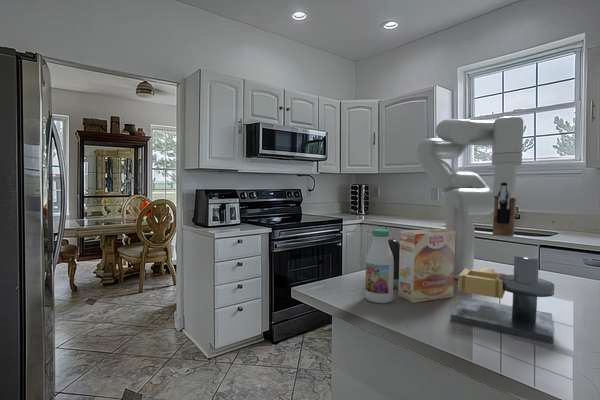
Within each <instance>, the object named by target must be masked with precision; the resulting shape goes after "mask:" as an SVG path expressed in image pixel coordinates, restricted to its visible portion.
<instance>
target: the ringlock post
mask: <svg viewBox="0 0 600 400" xmlns="http://www.w3.org/2000/svg"><path fill="white" fill-rule="evenodd" d="M539 262H540V259H539V257H535V256H528V255H514V257H513V274H506V276H505V275H503V278H502V276H500V277H499V279H502V281H503V290H505V292H508V293H511V294H512V304H511V305H507V304H503V303H497V302H496V303H495V302H491V301H487V300H486V301H485V300H481V299H475V298H469V297H466V296H465V297H463V298H462V299H461V300H460V302H459V303H458V305H457V306H456V307H455V308H454V309H453V311H452V312H451V314H450V322H456V323H458V324H463V325H468V326H472V327H477V328H481V329H486V330H491V331H493V332H494V331H495V332H499V333H502V334H503V333H504V334H508V335H512V336H518V337H521V338H525V339H529V340H535V341H538V342H542V343H543V342H544V343H548V344H552V345H553V344H554V325H553V323H554V322H553V313H551V312H545V311H540V310H538V306H537V305H538V298H549V297H553V296H555V284H554V283H553V282H552V281H549V280H548V279H547V280H546V279H543V278H540V277H539V266H540V263H539ZM504 277H505V278H504Z"/></svg>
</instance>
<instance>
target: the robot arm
mask: <svg viewBox="0 0 600 400" xmlns="http://www.w3.org/2000/svg"><path fill="white" fill-rule="evenodd" d="M435 135H436V137H435V138H433V137H432V138H426V139H423V140H421V141H420V142H418V145H417V147H416V157H417V161H418V163H419V166H420V167H421V168H422V169H423V171H424V172H425V173H426V174H427V175H428V176H429V177H430V179H431V180H432V183H433V184H434V185H435V187H436V188H437V189H438V191H439V192H440V194H441V195H443V207H444V213H445V230H449V231H454V232H456V236H455V261H454V280H458V278H459V274H460V273H461V272H462V271H463V270H464V269H472V270H474V261H475V260H474V259H475V236H476V235H475V233H476V231H475V230H476V229H475V228H476V227H475V225H474V222H473V221H472V219H471V217H470V216H486V215H490V214H492V213H494V201H495V199H496V198H495V197H499V199H498V209H497V223H504V224H509V223H510V210H509V204H510V199H511V198H515V193H516V184H517V170H518V169H517V167H518V166H522V164H523V162H522V161H523V144H524V143H523V142H524V140H523V139H524V119H523V117H521V116H517V115H516V116H515V115H510V116H503V117H502V116H501V117H499V118H496V119H494V120H472V119H468V118H467V119H466V118H447V119H443V120H441V121H440V122H438V124H437V125H436V128H435ZM469 146H488V147H489V146H491V147H492V150H491V152H492V153H491V166H494V167H495V168H494V172H493V173H494V175H493V185H492V186H493V188H492V189H491V188H490V187H489V185H488V184H487V183H486V182H485V181H484V179H483V178H482V177H481V176H480V175H479V174H477V173H475V172H472V171H456V170H454V169H453V168H452V166H451V165H450V164H448V162H446V161H444V160H454V159H456V160H457V159H458V158H460V157H461V156H462V155H463V153H464V152H465V151H466V149H467V148H468V147H469ZM507 198H508V199H507Z"/></svg>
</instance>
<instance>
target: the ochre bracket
mask: <svg viewBox="0 0 600 400" xmlns="http://www.w3.org/2000/svg"><path fill="white" fill-rule="evenodd" d="M503 275H505V276H506V275H507V274H506V273H499V272H495V269H493V268H486V267H481V268H480V270H479V269H473V270H472V269H464V270H463V271H462V272H461V273H460V274H459V278H458V279H457V280H458V281H457V282H458V283H457V285H458V286H457V292H462V293H467V294H473V295H479V296H485V297H490V298H495V299H499V300H500V299H503V297H504V295H505V293H506V291H505V290H503V281H502V279H499V277H500V276H502V278H503ZM504 278H505V277H504Z"/></svg>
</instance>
